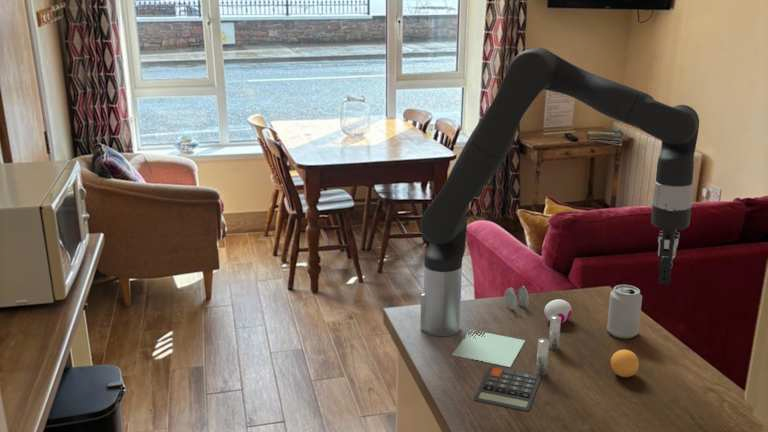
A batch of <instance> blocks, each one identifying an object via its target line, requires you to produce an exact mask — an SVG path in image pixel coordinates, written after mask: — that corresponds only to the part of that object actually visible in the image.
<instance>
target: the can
mask: <svg viewBox="0 0 768 432" xmlns="http://www.w3.org/2000/svg"><path fill="white" fill-rule="evenodd" d="M642 303H643V295H642V294H641V290H640V289H639V288H638V287H636V286H635V285H634V286H633V285H629V284H618V285H615V286H614V287H613V289H612V291H611V292H610V295H609V303H608V304H609V305H608V314H607V324H606V330H607V331H608V332H609V333H610V335H612V336H613V337H615V338H618V339H623V340H624V339H625V340H626V339H632V338H634V337H636V336H637V335H638V334H639V328H640V321H641V312H642V311H641V310H642Z"/></svg>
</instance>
